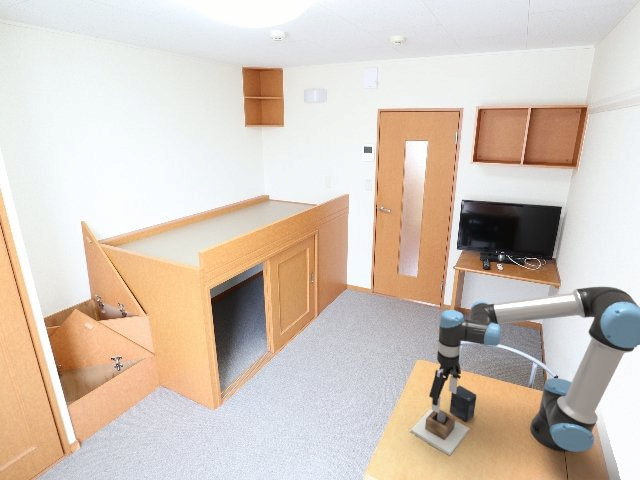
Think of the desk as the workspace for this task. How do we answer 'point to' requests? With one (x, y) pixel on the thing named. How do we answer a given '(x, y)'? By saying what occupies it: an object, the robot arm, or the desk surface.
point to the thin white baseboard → (443, 445)
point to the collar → (440, 425)
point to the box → (463, 403)
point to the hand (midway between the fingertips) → (444, 401)
